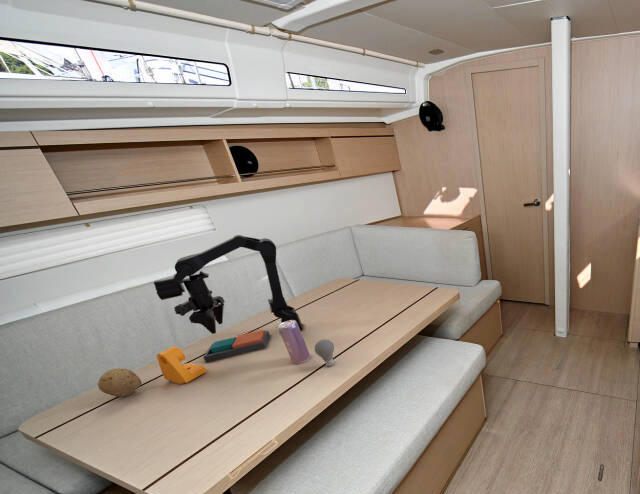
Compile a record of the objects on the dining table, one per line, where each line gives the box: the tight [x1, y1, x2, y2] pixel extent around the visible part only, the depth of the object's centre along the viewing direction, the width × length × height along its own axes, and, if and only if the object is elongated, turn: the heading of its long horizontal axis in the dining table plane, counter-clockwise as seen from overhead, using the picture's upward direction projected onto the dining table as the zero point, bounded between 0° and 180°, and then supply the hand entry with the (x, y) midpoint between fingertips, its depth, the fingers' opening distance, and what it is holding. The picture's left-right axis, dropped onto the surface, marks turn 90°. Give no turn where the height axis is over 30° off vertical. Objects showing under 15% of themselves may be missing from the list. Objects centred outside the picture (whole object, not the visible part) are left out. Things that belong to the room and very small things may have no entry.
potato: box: [97, 367, 142, 398], centre depth 115 cm, size 9×9×10 cm
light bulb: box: [314, 339, 335, 367], centre depth 122 cm, size 6×6×10 cm
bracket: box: [156, 346, 208, 385], centre depth 122 cm, size 11×7×12 cm, turn 73°
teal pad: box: [209, 336, 237, 354], centre depth 138 cm, size 7×6×4 cm
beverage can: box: [277, 320, 311, 364], centre depth 126 cm, size 6×6×15 cm
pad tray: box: [203, 330, 271, 364], centre depth 140 cm, size 20×12×3 cm, turn 115°
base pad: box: [232, 329, 266, 349], centre depth 141 cm, size 9×9×3 cm
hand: (217, 328), depth 136 cm, fingers open, 9 cm apart
